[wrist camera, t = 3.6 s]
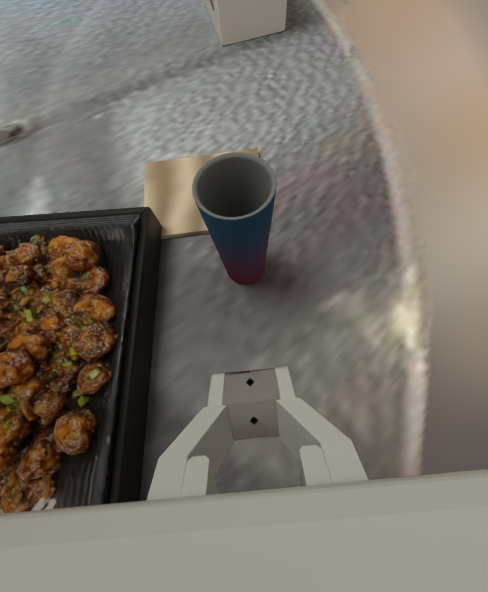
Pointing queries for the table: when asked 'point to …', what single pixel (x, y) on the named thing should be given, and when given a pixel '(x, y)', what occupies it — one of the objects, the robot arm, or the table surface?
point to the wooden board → (177, 194)
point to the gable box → (246, 18)
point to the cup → (237, 210)
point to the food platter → (75, 355)
